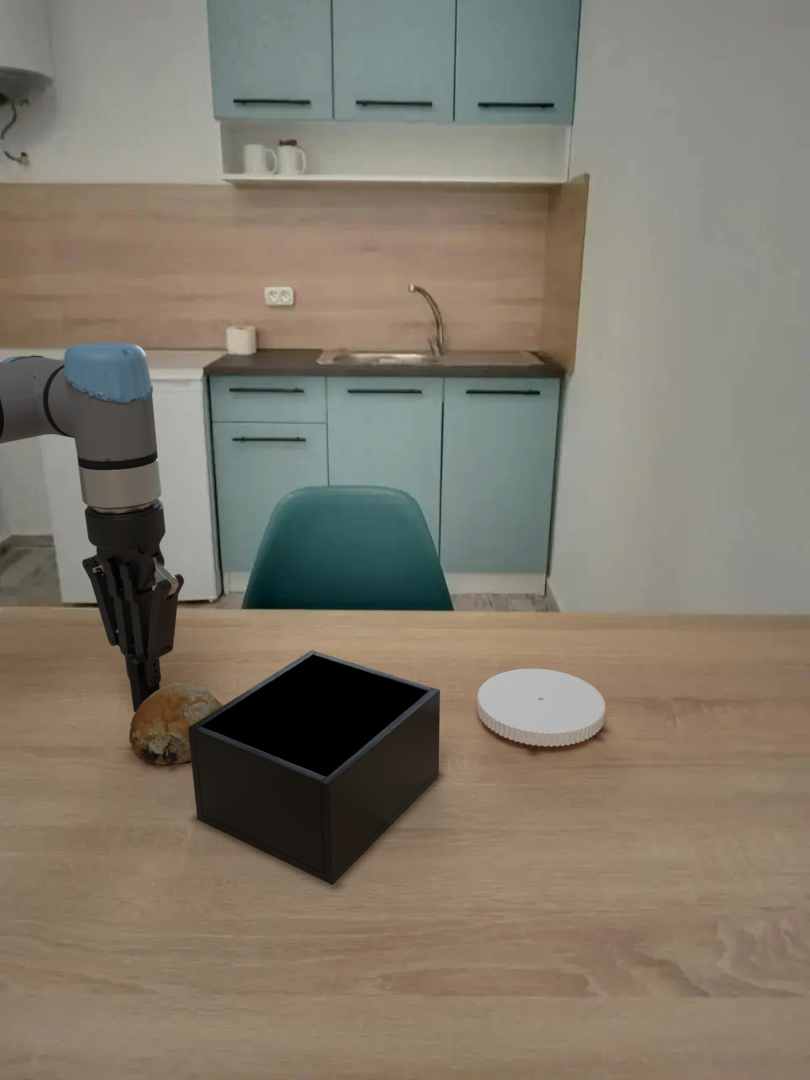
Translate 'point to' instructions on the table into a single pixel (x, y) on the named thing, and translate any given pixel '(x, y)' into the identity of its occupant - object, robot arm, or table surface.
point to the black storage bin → (316, 761)
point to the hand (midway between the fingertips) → (147, 707)
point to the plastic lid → (541, 707)
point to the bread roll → (169, 722)
